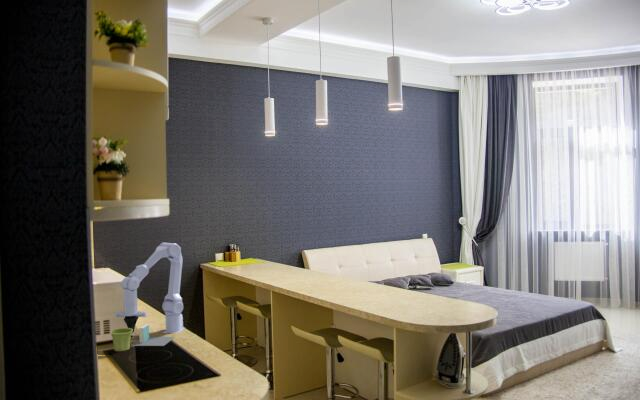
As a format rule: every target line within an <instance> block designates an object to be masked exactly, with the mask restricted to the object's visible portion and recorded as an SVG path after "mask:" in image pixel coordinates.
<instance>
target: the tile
mask: <svg viewBox="0 0 640 400" xmlns="http://www.w3.org/2000/svg"><path fill="white" fill-rule="evenodd" d="M138 332H139V335H138V336H140V337H139V339H140V343H144V342H146V341H147V340H148V339H149V337H150V325H149V323H146V324H144V325H141V326H140V327H139V331H138Z"/></svg>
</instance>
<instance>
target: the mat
mask: <svg viewBox="0 0 640 400" xmlns="http://www.w3.org/2000/svg"><path fill="white" fill-rule="evenodd" d="M175 338H176V337H175V336H149V339H148V340H147V341H146V342H144V343H140V338H138V339H137V340H136V341H134V342H132V344H131V343H130V346H133V347H135V346H136V347H139V346H140V347H148V346H149V347H153V346H155V347H159V346H160V347H165V345H167V344H168V343H170V342H171V341H172V340H174V339H175Z"/></svg>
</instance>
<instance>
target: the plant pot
mask: <svg viewBox="0 0 640 400" xmlns="http://www.w3.org/2000/svg"><path fill="white" fill-rule="evenodd" d="M132 331H133V329H131V328H128V327H122V328H121V327H119V328H116V329H113V330H111V331H110V332H109V334H111V338H112V343H113V348H114V352H123V351H124V352H125V351H127V350H130V345H131V338H132V337H131V336H132V334H133V333H132Z"/></svg>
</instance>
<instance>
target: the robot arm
mask: <svg viewBox="0 0 640 400" xmlns="http://www.w3.org/2000/svg"><path fill="white" fill-rule="evenodd" d="M182 255H183V254H182V247H181V246H180V245H179V244H177V243H175V242H173V243H171V242H165V241H164V242H163V241H162V242H161V243H160V244H159V245H158V246H157V247H156V248H155V250H154V252H153V253H152V254H151V255H150V256H149V258H148V259H147V260H146V261H145V262H144V263H143V264H139V265H136V266H135V269H134V270H133V271H132V272H130V273H129V274H128V276H126V277H124V278H123V279H122V280H121V283H120V286H121V288H122V289H123V303H124V305H123V306H124V309H123V310H124V311H117V312H115V313H114V317H115V318H123V321H124V323H125V325H126V328H131V329H133V331H132V334H133V333H135V327H136V324H137V322H138V319H139V318H146V317H148V311H139V309H138V288H139V287H140V283H141V282H142V281H143V279H144V278H145V277H147V275H148V274H150V273H149V272H150V269H151V268H152V267H153V266H155V264H156V263H157V262H158V261H160V259H163V258H167V259H168V261H169V262H170V270H169V280H168V289H167V290H168V291H167V294H166V295H165V296H164V300H163V302H162V304H161V305H162V307H161V308H162V310H163V312H164V315H165V317H164V318H165V330H164V331H162V334H179V333H180V332H182V331H183V329H184V328H185V327H184V321H183V320H184V317H183V314H182V312H183V310H184V303H183V297H181V295H180V294H181V293H180V292H181V280H182V269H183V263H184V261H183V256H182ZM182 327H183V328H182ZM184 330H185V329H184Z"/></svg>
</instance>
